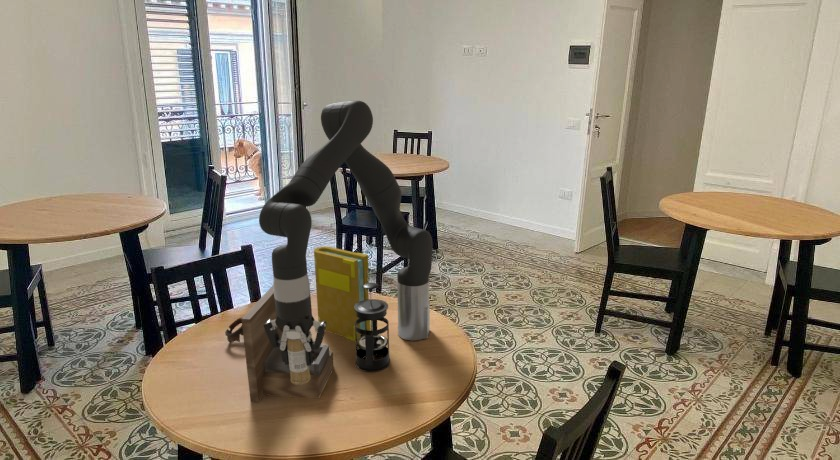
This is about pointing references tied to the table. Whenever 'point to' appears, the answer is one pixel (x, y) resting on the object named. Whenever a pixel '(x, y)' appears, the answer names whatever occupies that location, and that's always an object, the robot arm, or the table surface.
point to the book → (340, 289)
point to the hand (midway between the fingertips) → (298, 363)
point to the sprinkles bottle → (297, 358)
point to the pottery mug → (235, 335)
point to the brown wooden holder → (277, 358)
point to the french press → (372, 333)
